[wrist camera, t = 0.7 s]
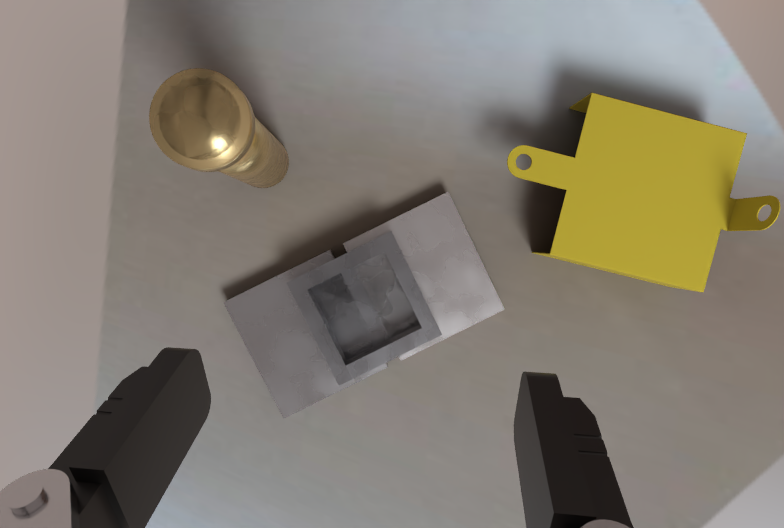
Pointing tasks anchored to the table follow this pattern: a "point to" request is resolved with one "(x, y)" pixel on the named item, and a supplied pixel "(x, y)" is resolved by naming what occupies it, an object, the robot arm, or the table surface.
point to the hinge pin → (215, 129)
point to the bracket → (645, 192)
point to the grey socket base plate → (364, 305)
